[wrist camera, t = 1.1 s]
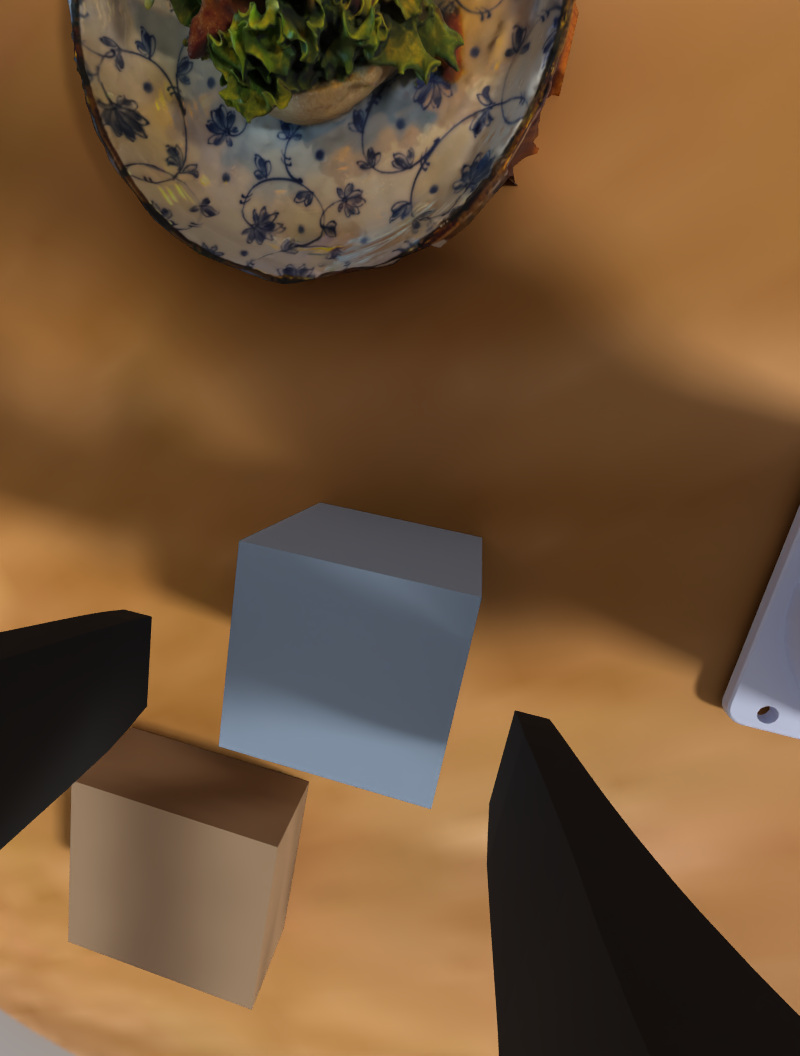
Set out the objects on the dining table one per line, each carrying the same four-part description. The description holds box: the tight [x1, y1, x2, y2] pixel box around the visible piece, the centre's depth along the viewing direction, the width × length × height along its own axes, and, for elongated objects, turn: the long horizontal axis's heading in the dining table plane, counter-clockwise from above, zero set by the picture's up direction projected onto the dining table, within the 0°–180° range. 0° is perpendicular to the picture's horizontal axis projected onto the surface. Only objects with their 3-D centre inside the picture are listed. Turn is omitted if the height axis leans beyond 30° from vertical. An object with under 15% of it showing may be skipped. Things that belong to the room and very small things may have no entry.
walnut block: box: [68, 727, 309, 1010], centre depth 17 cm, size 7×7×3 cm
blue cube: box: [219, 502, 482, 809], centre depth 12 cm, size 5×5×5 cm
